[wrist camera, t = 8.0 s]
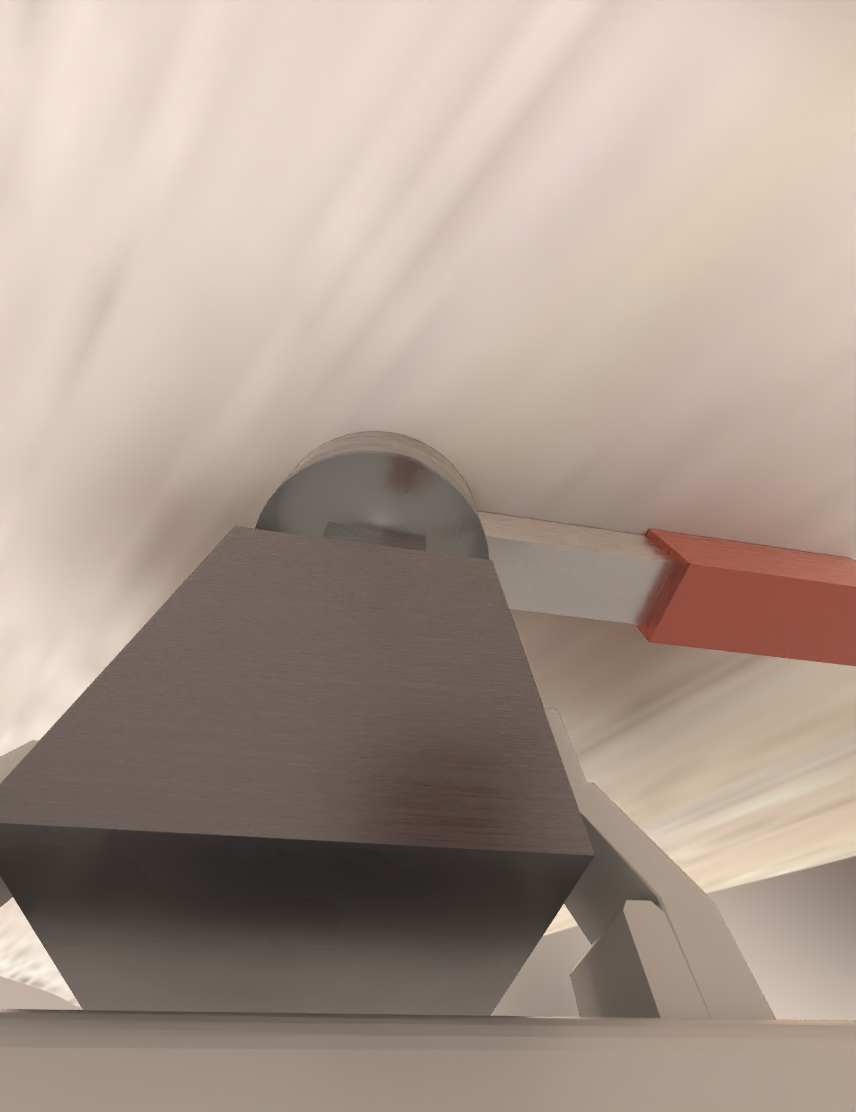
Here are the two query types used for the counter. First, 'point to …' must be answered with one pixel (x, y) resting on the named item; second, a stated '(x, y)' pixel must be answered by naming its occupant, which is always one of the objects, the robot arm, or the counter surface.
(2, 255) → the counter surface
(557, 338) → the counter surface
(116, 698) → the matte grey cube
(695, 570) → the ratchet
